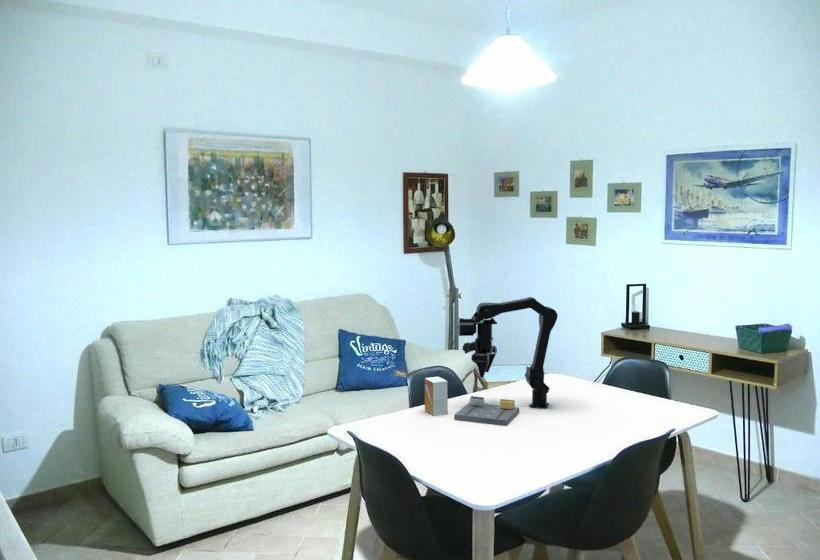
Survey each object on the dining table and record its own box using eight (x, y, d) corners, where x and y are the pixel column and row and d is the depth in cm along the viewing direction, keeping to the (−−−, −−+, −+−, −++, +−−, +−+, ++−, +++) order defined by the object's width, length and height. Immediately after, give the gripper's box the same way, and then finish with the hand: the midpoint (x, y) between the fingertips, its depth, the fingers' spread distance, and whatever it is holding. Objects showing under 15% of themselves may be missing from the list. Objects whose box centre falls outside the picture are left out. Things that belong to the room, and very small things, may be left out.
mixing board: (469, 407, 286) (469, 402, 286) (519, 412, 278) (519, 407, 278) (454, 419, 270) (454, 414, 269) (506, 425, 262) (506, 420, 262)
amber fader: (501, 405, 279) (501, 398, 279) (514, 407, 277) (514, 399, 277) (499, 407, 276) (499, 400, 276) (512, 409, 274) (512, 401, 274)
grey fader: (472, 402, 284) (472, 395, 284) (484, 404, 282) (484, 396, 282) (469, 404, 281) (469, 397, 281) (482, 406, 279) (482, 398, 279)
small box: (424, 410, 283) (424, 377, 281) (439, 408, 285) (438, 376, 284) (433, 416, 275) (432, 382, 274) (448, 414, 278) (448, 380, 276)
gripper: (470, 330, 294) (470, 368, 296) (458, 338, 276) (458, 378, 278) (497, 331, 291) (497, 370, 292) (487, 340, 273) (487, 380, 275)
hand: (484, 374), depth 284 cm, fingers open, 9 cm apart
